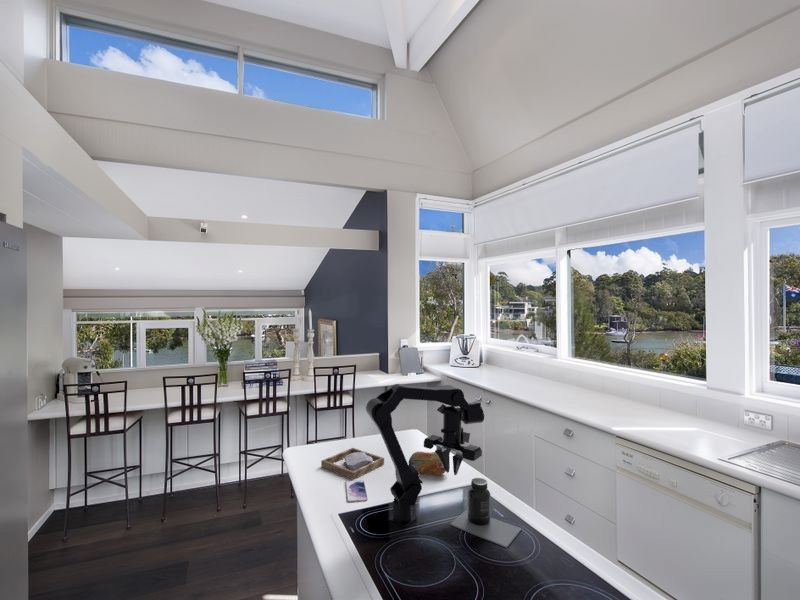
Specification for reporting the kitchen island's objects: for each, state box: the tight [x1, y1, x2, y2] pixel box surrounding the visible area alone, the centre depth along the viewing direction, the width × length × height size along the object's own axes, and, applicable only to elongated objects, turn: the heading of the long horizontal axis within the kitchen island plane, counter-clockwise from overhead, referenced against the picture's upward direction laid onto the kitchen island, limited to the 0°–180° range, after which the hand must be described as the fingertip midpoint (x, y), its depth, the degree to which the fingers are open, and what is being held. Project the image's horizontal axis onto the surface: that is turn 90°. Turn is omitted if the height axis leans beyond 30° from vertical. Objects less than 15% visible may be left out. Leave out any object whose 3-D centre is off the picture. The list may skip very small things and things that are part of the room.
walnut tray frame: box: [320, 447, 385, 481], centre depth 164 cm, size 18×18×2 cm
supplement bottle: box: [467, 477, 492, 526], centre depth 124 cm, size 7×7×12 cm
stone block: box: [344, 451, 373, 471], centre depth 165 cm, size 12×5×10 cm
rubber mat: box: [449, 508, 522, 549], centre depth 121 cm, size 11×18×1 cm, turn 52°
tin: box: [408, 451, 446, 477], centre depth 157 cm, size 15×3×8 cm, turn 82°
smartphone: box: [344, 479, 369, 504], centre depth 143 cm, size 7×1×15 cm
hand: (451, 473), depth 130 cm, fingers open, 3 cm apart
